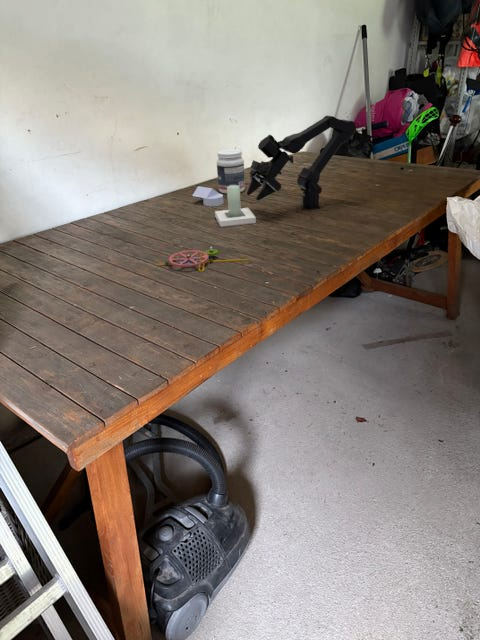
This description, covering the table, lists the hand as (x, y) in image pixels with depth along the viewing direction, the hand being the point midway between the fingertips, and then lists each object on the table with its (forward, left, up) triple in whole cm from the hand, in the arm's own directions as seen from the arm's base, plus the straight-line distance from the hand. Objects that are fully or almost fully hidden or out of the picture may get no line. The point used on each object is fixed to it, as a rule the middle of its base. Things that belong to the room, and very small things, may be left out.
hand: (252, 197), depth 201 cm
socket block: (+8, +2, -8) cm, 11 cm away
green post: (+8, +2, -8) cm, 11 cm away
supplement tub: (+1, -43, -8) cm, 44 cm away
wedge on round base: (+14, -27, -8) cm, 32 cm away
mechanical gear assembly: (+26, +42, -9) cm, 50 cm away
